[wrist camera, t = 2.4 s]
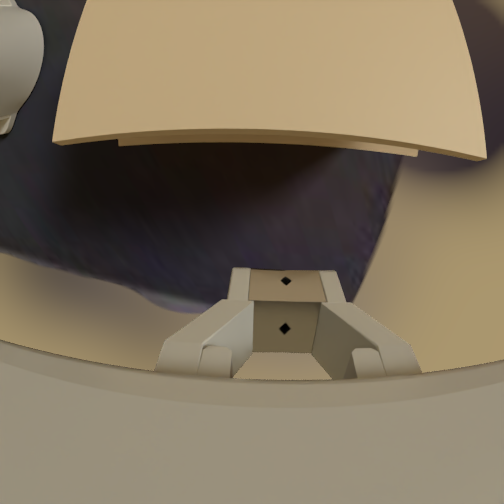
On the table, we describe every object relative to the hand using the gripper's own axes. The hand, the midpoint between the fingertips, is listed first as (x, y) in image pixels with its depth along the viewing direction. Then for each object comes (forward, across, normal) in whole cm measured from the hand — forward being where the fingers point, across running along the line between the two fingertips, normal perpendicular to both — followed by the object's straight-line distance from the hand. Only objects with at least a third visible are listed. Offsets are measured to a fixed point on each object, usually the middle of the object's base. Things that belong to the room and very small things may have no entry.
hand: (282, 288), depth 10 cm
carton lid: (+9, 0, -11) cm, 14 cm away
